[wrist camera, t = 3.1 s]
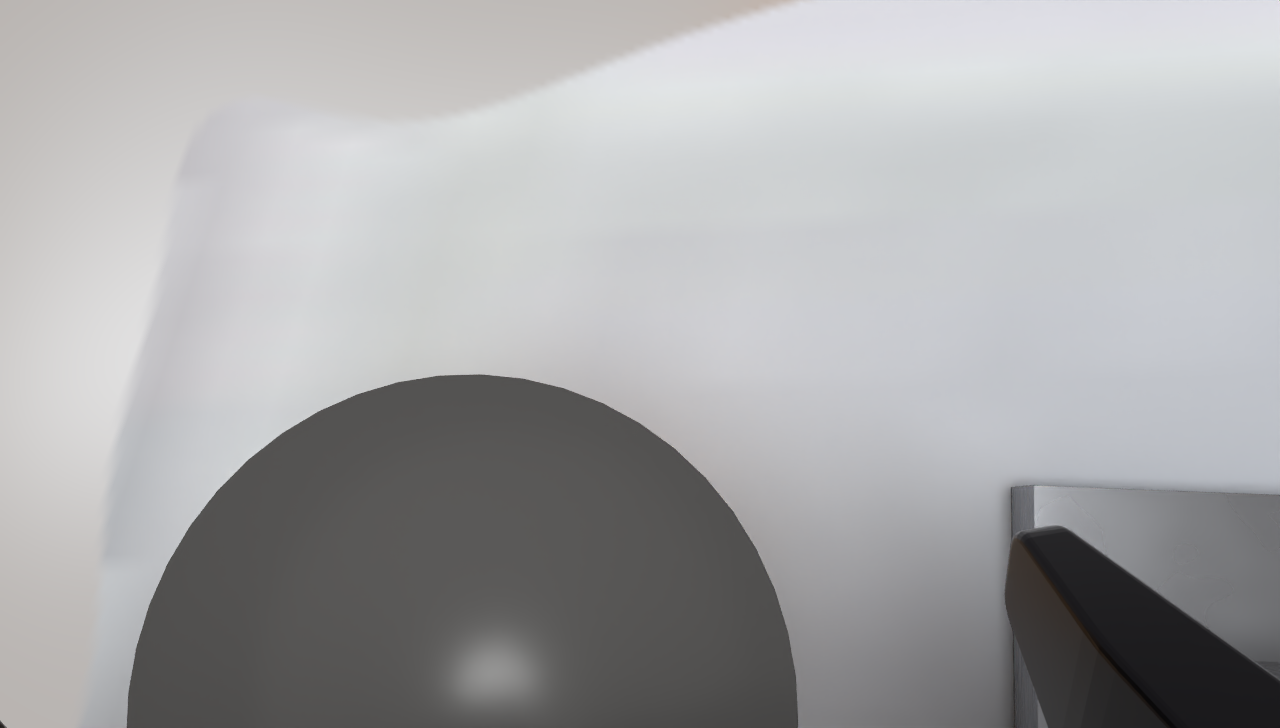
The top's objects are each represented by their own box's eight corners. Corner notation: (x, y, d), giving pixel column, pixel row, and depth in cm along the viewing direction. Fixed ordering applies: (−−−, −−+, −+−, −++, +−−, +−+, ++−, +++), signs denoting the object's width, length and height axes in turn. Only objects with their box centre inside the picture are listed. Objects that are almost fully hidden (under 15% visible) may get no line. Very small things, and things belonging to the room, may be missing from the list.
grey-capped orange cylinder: (713, 739, 16) (791, 1097, 6) (441, 725, 16) (87, 1056, 6) (720, 463, 17) (801, 386, 7) (459, 453, 17) (165, 362, 7)
